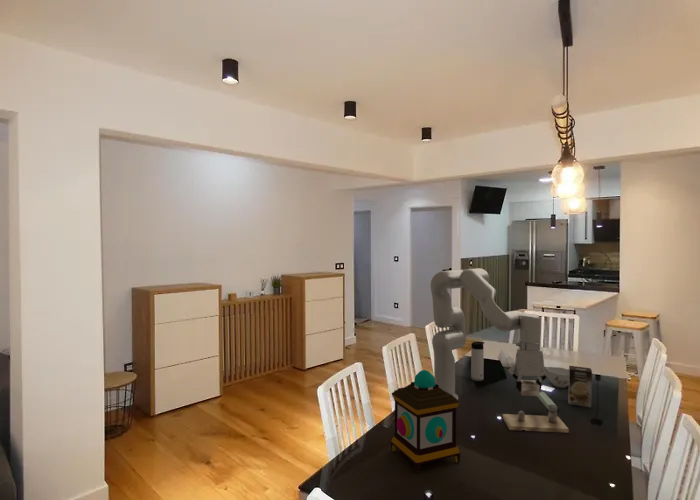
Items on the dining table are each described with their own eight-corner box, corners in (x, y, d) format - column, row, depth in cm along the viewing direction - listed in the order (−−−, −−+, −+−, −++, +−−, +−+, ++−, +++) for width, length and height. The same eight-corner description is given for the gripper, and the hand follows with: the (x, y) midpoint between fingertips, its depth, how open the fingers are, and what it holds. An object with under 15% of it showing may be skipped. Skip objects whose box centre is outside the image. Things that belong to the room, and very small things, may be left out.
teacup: (572, 391, 216) (573, 375, 216) (545, 387, 222) (545, 371, 222) (574, 383, 229) (574, 367, 229) (548, 379, 235) (548, 364, 235)
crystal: (520, 362, 253) (513, 351, 277) (509, 355, 254) (503, 345, 278) (513, 373, 254) (507, 361, 278) (502, 366, 255) (497, 355, 279)
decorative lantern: (414, 477, 139) (415, 382, 139) (385, 449, 158) (385, 365, 157) (466, 464, 147) (467, 374, 147) (432, 439, 166) (432, 359, 165)
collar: (522, 395, 172) (522, 385, 172) (518, 389, 178) (518, 379, 178) (539, 396, 171) (539, 386, 171) (534, 390, 177) (534, 380, 177)
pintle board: (509, 429, 173) (509, 415, 173) (502, 417, 185) (502, 403, 185) (568, 432, 171) (568, 417, 171) (557, 419, 183) (558, 406, 182)
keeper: (549, 411, 176) (549, 407, 176) (536, 395, 193) (536, 391, 193) (558, 412, 175) (558, 407, 175) (544, 396, 193) (544, 392, 193)
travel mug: (484, 381, 231) (484, 343, 231) (471, 380, 233) (471, 342, 232) (483, 377, 237) (483, 340, 237) (470, 377, 239) (470, 340, 238)
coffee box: (568, 404, 200) (568, 369, 199) (568, 399, 205) (568, 365, 205) (591, 407, 196) (592, 371, 195) (590, 402, 202) (591, 367, 201)
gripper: (508, 347, 171) (507, 393, 172) (556, 349, 169) (554, 395, 170) (504, 342, 179) (503, 386, 179) (549, 344, 176) (548, 388, 177)
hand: (528, 390), depth 175 cm, fingers closed on collar, 6 cm apart
